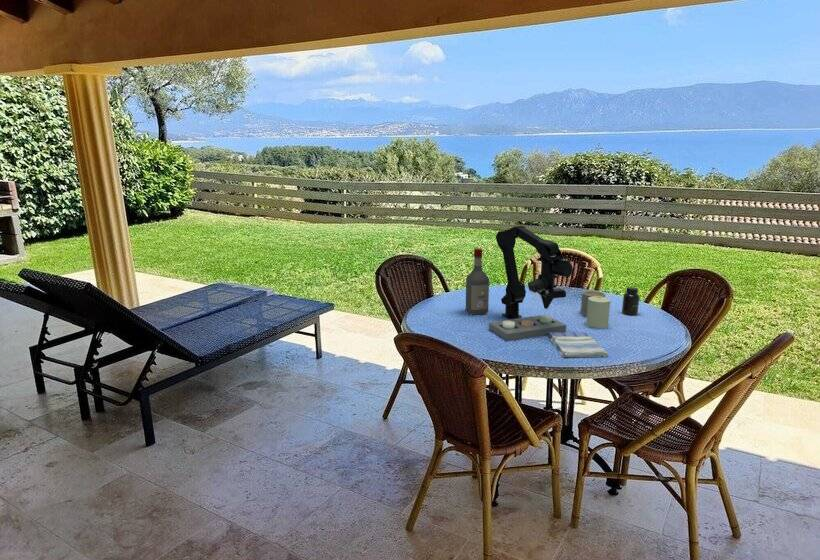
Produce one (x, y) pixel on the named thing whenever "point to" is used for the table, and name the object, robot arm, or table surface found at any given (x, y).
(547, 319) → the sage button
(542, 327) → the button panel
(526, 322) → the terracotta button
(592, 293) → the coffee mug
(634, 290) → the supplement bottle
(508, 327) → the cream button
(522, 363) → the table surface
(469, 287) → the liquor
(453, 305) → the table surface
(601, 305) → the sage green canister
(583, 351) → the dish towel
